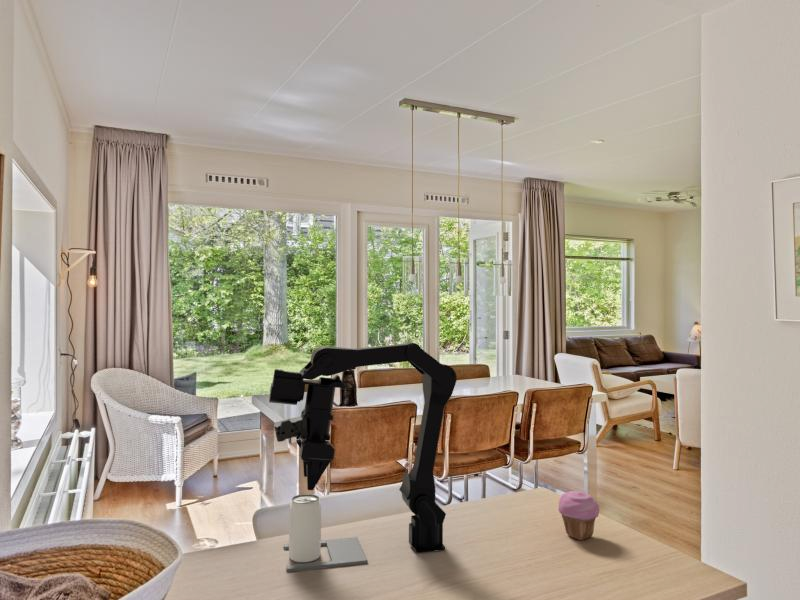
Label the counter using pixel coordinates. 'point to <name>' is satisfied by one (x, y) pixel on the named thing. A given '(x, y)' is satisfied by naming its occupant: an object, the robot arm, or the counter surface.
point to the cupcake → (578, 514)
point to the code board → (335, 554)
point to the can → (305, 528)
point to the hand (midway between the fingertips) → (308, 483)
